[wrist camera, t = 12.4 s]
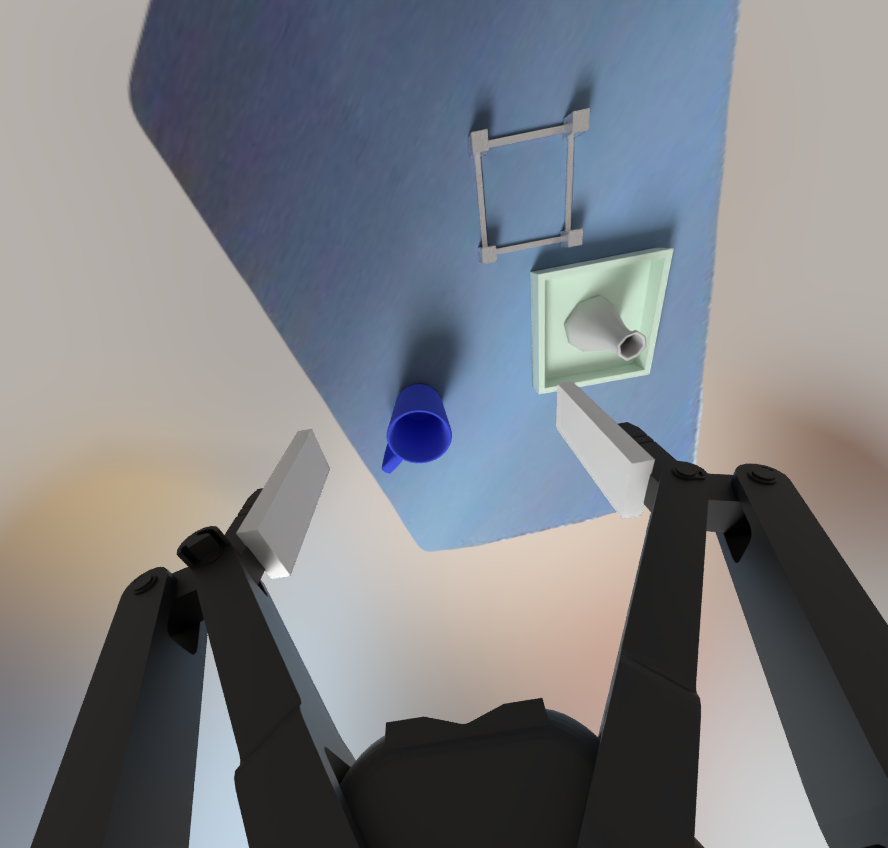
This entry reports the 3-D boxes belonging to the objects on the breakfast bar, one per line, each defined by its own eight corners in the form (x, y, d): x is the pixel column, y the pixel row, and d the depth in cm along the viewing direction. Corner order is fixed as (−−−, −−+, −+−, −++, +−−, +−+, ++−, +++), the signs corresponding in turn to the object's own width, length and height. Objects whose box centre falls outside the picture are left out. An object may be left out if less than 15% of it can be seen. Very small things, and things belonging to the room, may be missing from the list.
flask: (554, 323, 43) (587, 345, 34) (600, 283, 41) (649, 296, 32) (580, 359, 46) (617, 388, 37) (625, 324, 44) (675, 347, 35)
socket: (467, 138, 33) (471, 132, 30) (578, 116, 32) (589, 107, 30) (479, 262, 39) (483, 263, 37) (572, 244, 38) (582, 244, 36)
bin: (530, 271, 40) (538, 274, 37) (656, 247, 39) (673, 248, 37) (532, 385, 48) (539, 394, 45) (636, 366, 48) (649, 374, 45)
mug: (367, 423, 49) (357, 463, 41) (413, 366, 45) (412, 397, 37) (410, 448, 53) (408, 490, 44) (456, 397, 48) (465, 432, 40)
